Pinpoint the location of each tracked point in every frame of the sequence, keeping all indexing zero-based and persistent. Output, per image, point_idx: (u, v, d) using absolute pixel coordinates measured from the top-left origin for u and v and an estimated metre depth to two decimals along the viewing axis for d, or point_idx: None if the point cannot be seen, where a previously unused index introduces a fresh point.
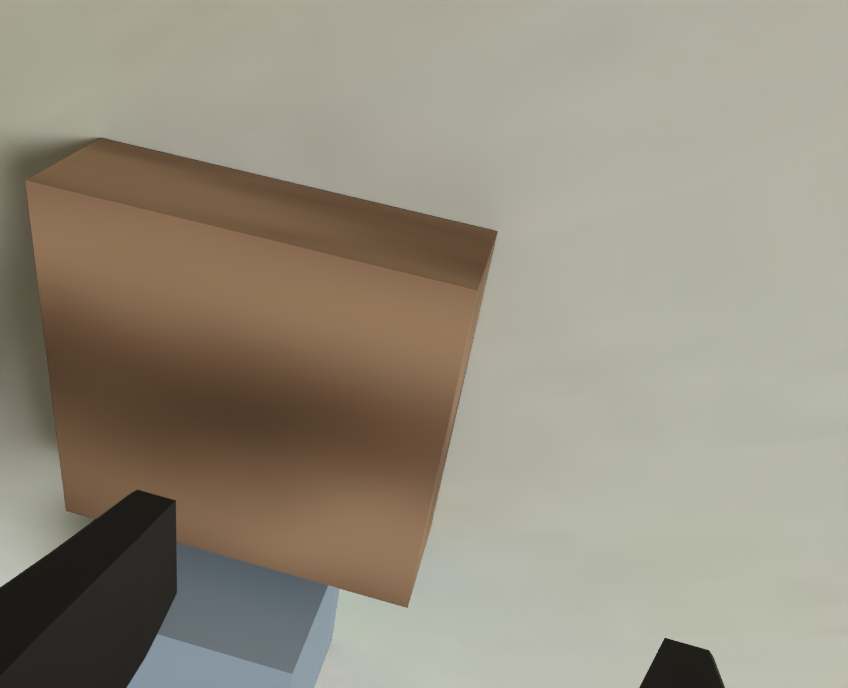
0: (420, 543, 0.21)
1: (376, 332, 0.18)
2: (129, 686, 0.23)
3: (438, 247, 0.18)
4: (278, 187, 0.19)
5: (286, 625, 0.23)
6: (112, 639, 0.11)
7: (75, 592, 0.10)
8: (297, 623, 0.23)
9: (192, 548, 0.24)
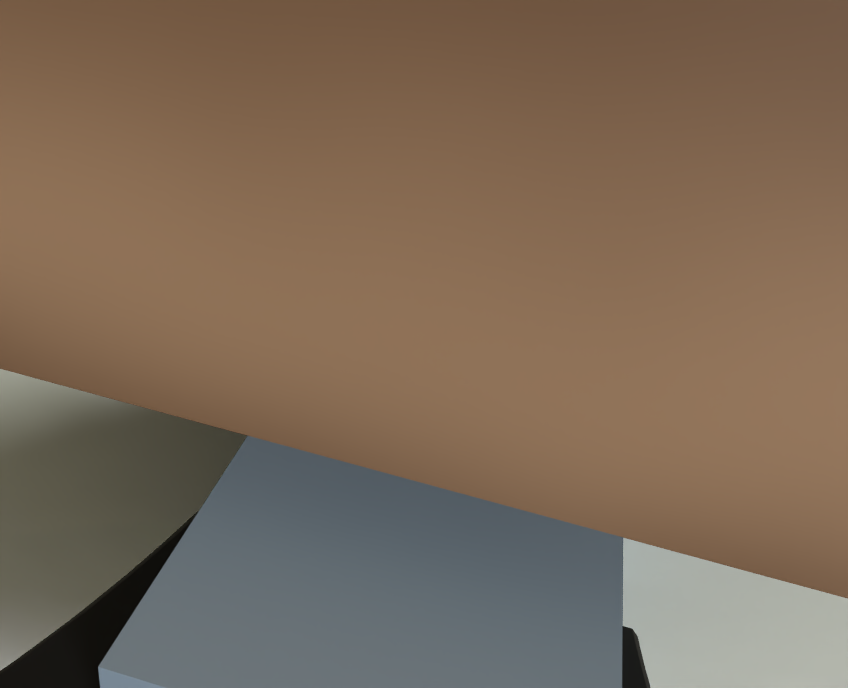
0: None
1: None
2: None
3: None
4: None
5: (558, 673, 0.08)
6: None
7: None
8: (583, 669, 0.08)
9: (285, 479, 0.10)
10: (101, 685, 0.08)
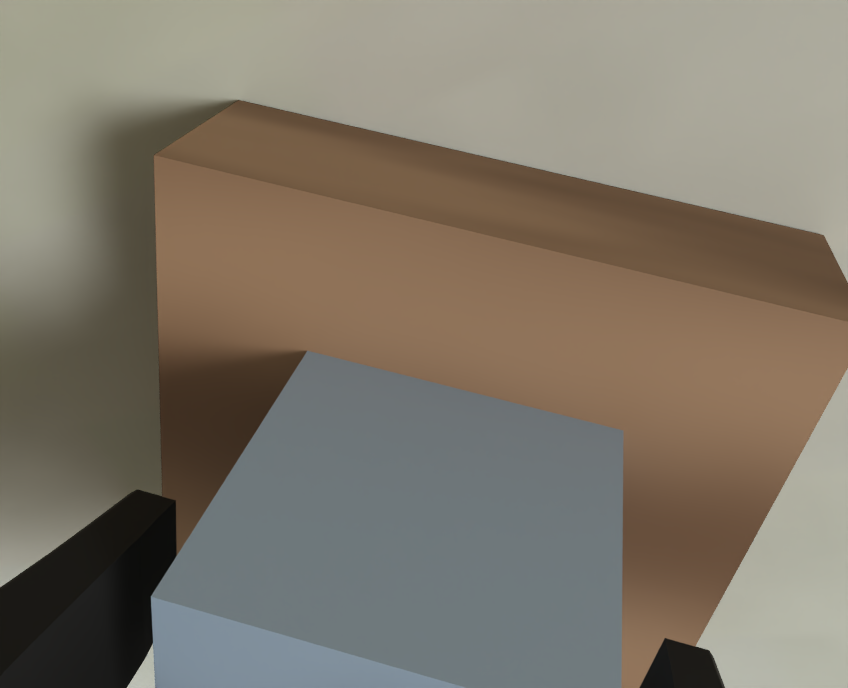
0: None
1: (681, 387, 0.12)
2: None
3: (767, 258, 0.12)
4: (503, 170, 0.13)
5: (563, 605, 0.09)
6: (112, 639, 0.11)
7: (75, 592, 0.10)
8: (587, 603, 0.09)
9: (311, 439, 0.11)
10: (153, 614, 0.09)
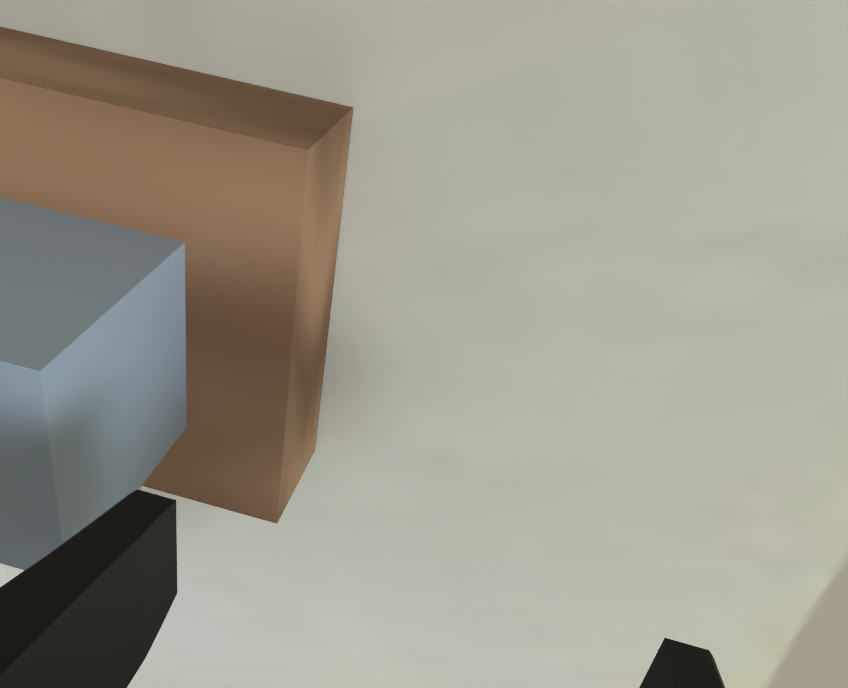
0: (282, 449, 0.19)
1: (209, 204, 0.16)
2: None
3: (279, 115, 0.17)
4: (120, 61, 0.18)
5: (51, 319, 0.14)
6: (112, 639, 0.11)
7: (75, 592, 0.10)
8: (70, 319, 0.14)
9: None
10: None
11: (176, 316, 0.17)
